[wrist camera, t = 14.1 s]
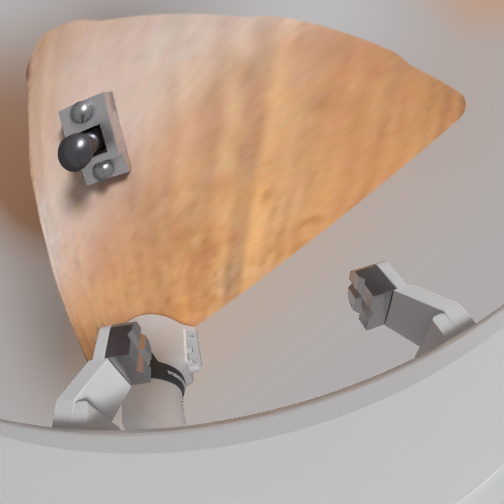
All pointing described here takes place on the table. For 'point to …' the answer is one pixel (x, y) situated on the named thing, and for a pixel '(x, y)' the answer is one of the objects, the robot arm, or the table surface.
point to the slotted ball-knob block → (105, 114)
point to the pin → (79, 149)
